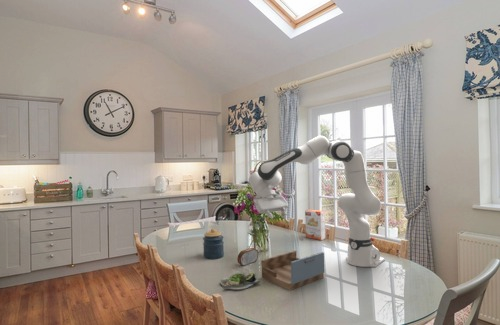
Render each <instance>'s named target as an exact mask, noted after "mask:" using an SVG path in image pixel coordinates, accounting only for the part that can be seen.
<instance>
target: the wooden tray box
mask: <svg viewBox="0 0 500 325" xmlns="http://www.w3.org/2000/svg"><path fill="white" fill-rule="evenodd" d="M298 259H300V258H299V257H297V250H293V251H289V252H286V253H282V254H278V255H275V256H272V257H267V258H265V259H262V260H261V261H260V262H261V279H263V280H265V281H267V282H270V283H272V284H275V285H277V286H279V287H281V288H283V289H285V290H288V291H291V290H294V289H296V288H299V287H302V286H304V285H307V284H310V283H312V282H314V281H317V280H319V279H322V278H324V276H325V275H324V274H325V273H322V274H319V275H317V276H314V277H311V278H309V279H306V280H303V281H301V282H298V283H295V284H291V262H292V261H295V260H298Z"/></svg>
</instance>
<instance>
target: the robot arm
mask: <svg viewBox="0 0 500 325" xmlns="http://www.w3.org/2000/svg"><path fill="white" fill-rule="evenodd" d="M323 156H327V158H329V159H331V160H333V161H339V162H342V163H343V167H344V176H345V183H346V185H347V187H348V188H349V189H350V190H352V191H353V193H343V194H341V195H340V196H339V198H338V207H339V209H340V210H341V211H343V213H344V215H345V217H346V220H347V223H348V229H349V230H348V233H349V236H348V246H347V254H346V255H347V256H345V259H346V261H347V264H349V265H352V266H355V267H362V268H364V267H367V268H368V267H371V268H377V267H378V266H379V265H380V264H382V263H384V262H385V258H384V257H382V256H381V255H380V250H379V249H378V248H377V247H376V246H375V245H374V244H373V242H375V240H376V239H375V237H371V226H370V223H369V222H368V221H367V220H366V219H365V218H364V215H366V216H375V215H378V214H379V213H380V212H381V209H382V203H381V202H382V201H381V200H380V198H379V197H378V196H376V195H375V193H374V192H373V191H372V189H371V187H370V186H369V183H368V179H367V178H368V177H367V171H366V165H365V160H364V156H363V153H362V152H361V151H359V150H353V147H351V146H350V145H349V143H348V142H346V141H343V140H331V141H330V140H329V139H328V138H327V137H326V136H324V135H318V136H316V137H314V138H311V139H310V140H308V141H306V142H305V143H303V144H301V145H300V146H298V147H296V148H295V147H294V148H291V149H290V150H288V151H285V152H283V153H282V154H280V155H278V156H276V157H275V158H273V159H270V160H266V161H263V162H261V163H260V164H259V167H258V169H257V171H254V172H252V173H250V176H249V178H248V182H249V185H250V187H251V189H252V191H253V192H254V193H255V194H256V197H254V198H253V199H252V202H253V203H254V206H255V209H256V211H257V213H259V214H265V215H266V216H268V217H269V218H270V219H271V220H272V219H274V217H275V215H274V214H273V213H272V212H280V211H281V212H282V213H281V215H282V217H287V215H288V213H287V212H286V210H287V208H288V207H289V203H288V201H287V200H286V199H285V197H284V196H282V193H281V191H278V190H275V189H274V188H275V187H277V186H279V185H280V184H281V183H282V179H283V177H282V174H281V172H280V171H279V170H280V169H282V168H284V167H286V166H287V165H289V164H292V163H299V164H301V165H308V164H309V165H310V164H312V163H314V162H315V161H316V160H318V159H319V158H321V157H323Z"/></svg>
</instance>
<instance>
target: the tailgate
mask: <svg viewBox="0 0 500 325" xmlns="http://www.w3.org/2000/svg"><path fill="white" fill-rule="evenodd" d="M322 273H324V274H325V252H318V253H315V254H312V255H309V256H308V255H307V256H304V257H301V258H299V259H298V260H295V261H292V262H291V284H295V283H298V282H301V281H303V280H306V279H309V278H311V277H314V276H317V275H319V274H322Z"/></svg>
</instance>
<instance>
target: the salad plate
mask: <svg viewBox="0 0 500 325" xmlns="http://www.w3.org/2000/svg"><path fill="white" fill-rule="evenodd" d="M228 282H229V284H228ZM260 283H261V281H259V279H258V278H257V277H256V275H255V273H254V272H250V273H249V274H248V273H247V274H246V273H242V272H241V273H240V272H239V273H234V274H232V275H230V276H227V277H224V278H222V279H221V280H220V281H219V284H220V285H221V286H222V289H224V290H230V291H231V290H233V291H243V290H246V289H249V288H252V287H254V286H256V285H259V284H260Z"/></svg>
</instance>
